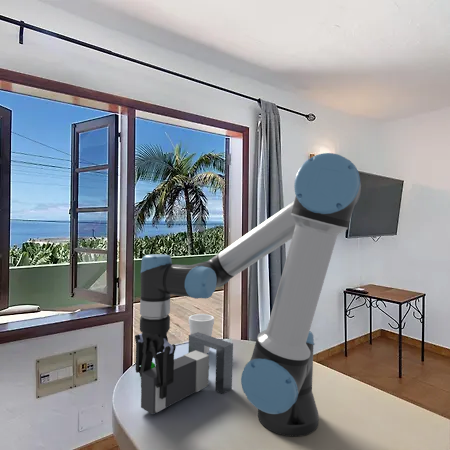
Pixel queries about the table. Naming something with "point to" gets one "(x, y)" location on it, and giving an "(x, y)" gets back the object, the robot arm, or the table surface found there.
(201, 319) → the foam cup
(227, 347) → the grey arch
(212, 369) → the table surface
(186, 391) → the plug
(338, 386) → the table surface
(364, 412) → the table surface
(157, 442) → the table surface
